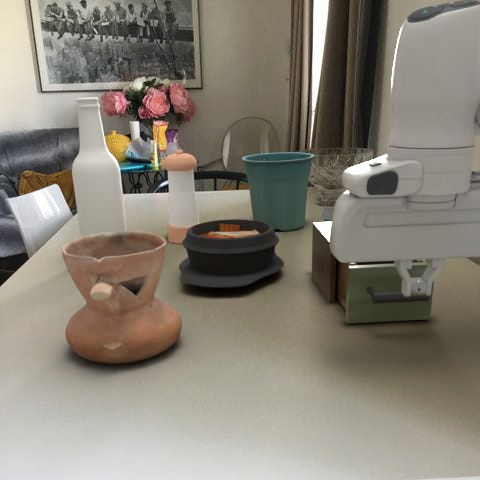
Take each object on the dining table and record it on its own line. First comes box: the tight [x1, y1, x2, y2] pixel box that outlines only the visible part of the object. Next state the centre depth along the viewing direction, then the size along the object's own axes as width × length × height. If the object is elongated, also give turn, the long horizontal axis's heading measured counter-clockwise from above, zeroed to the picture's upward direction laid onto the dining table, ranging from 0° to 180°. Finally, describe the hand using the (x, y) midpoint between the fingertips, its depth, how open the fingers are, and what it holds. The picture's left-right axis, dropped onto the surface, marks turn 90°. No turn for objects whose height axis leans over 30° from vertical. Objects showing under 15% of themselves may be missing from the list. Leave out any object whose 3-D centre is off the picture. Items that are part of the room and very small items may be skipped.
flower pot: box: [241, 151, 315, 232], centre depth 132 cm, size 16×16×16 cm
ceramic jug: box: [61, 230, 183, 365], centre depth 71 cm, size 18×14×14 cm
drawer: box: [335, 258, 435, 324], centre depth 79 cm, size 18×11×8 cm, turn 4°
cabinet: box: [311, 221, 341, 304], centre depth 90 cm, size 15×13×10 cm
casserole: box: [178, 218, 285, 289], centre depth 99 cm, size 25×19×8 cm
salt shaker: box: [162, 149, 201, 244], centre depth 122 cm, size 7×7×19 cm
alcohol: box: [71, 96, 128, 237], centre depth 106 cm, size 9×9×30 cm
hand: (415, 294), depth 66 cm, fingers closed
